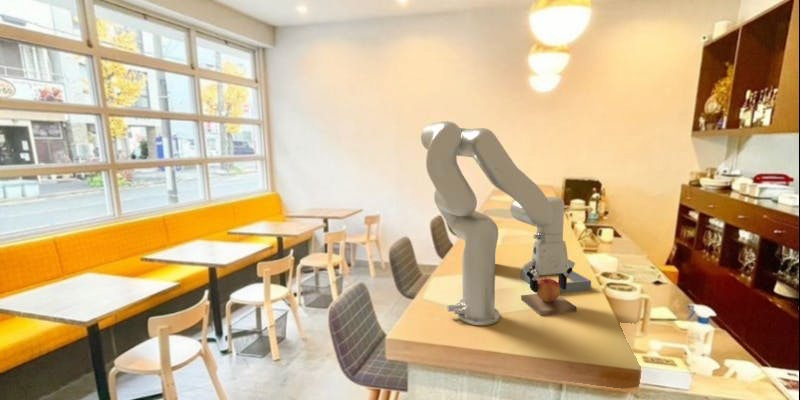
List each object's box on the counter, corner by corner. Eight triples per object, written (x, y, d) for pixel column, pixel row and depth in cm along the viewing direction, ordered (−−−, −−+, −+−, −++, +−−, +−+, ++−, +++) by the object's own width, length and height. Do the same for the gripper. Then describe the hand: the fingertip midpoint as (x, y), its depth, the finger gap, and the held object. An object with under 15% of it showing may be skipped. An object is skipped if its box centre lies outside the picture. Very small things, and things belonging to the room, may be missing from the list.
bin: (544, 295, 129) (545, 285, 128) (520, 277, 146) (520, 268, 145) (590, 290, 132) (591, 280, 131) (561, 273, 149) (561, 264, 148)
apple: (547, 308, 116) (548, 284, 114) (530, 298, 123) (530, 275, 121) (565, 302, 119) (566, 278, 117) (547, 293, 126) (548, 270, 124)
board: (540, 315, 114) (540, 311, 114) (521, 299, 126) (521, 295, 126) (576, 311, 116) (576, 306, 116) (554, 296, 128) (554, 291, 128)
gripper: (529, 242, 113) (528, 297, 115) (582, 238, 115) (580, 291, 118) (517, 236, 120) (517, 287, 123) (567, 232, 123) (565, 282, 125)
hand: (548, 289), depth 120 cm, fingers open, 9 cm apart
